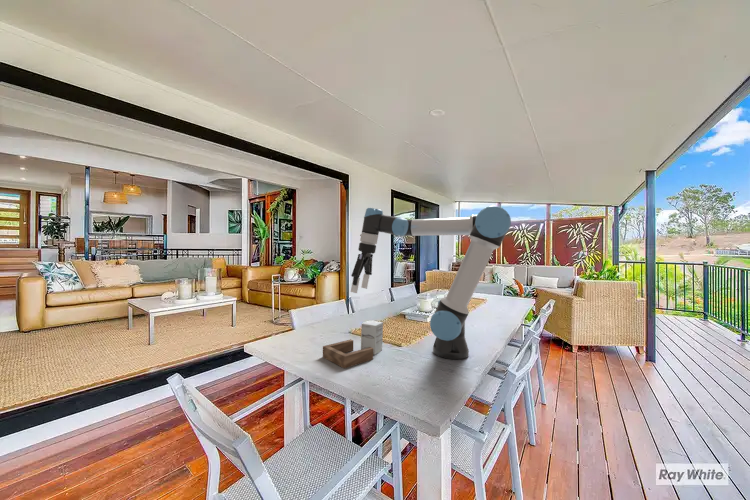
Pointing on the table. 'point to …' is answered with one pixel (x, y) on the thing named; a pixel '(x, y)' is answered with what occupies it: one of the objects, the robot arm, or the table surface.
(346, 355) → the u rest
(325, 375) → the table surface
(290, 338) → the table surface
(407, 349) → the table surface
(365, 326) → the supplement box
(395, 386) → the table surface
